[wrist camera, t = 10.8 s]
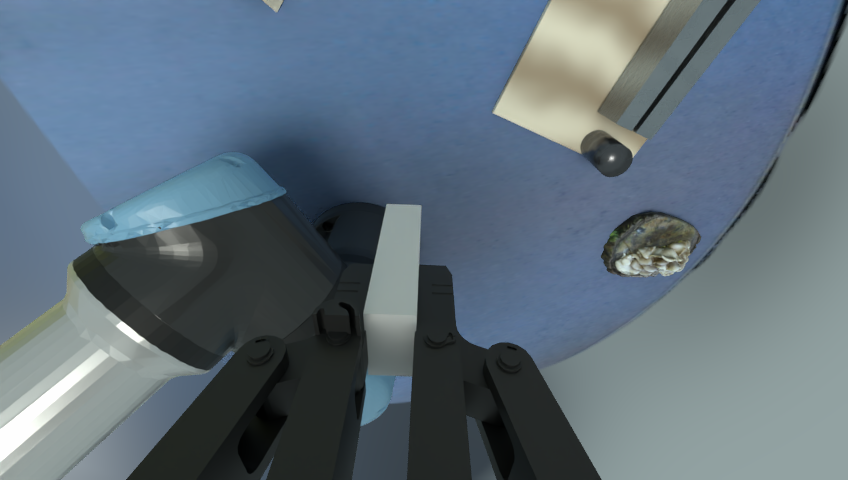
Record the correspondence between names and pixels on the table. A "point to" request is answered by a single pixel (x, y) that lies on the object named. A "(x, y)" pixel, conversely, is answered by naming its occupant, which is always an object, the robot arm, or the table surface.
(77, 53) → the table surface
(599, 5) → the board
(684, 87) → the tongs fixed
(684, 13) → the tong arm
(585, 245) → the table surface
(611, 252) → the log
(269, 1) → the condiment
